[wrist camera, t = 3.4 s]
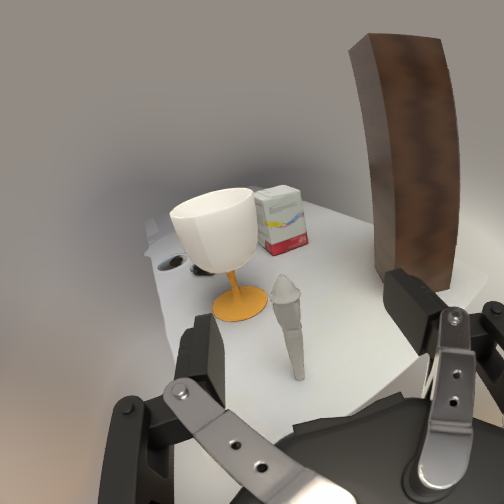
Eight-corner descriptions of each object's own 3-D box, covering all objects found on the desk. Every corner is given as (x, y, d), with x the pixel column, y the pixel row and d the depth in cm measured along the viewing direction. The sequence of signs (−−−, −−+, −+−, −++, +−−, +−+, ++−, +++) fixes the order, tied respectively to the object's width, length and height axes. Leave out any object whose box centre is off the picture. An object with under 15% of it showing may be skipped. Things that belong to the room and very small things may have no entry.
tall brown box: (426, 257, 43) (411, 51, 29) (451, 288, 35) (443, 39, 20) (374, 266, 45) (348, 50, 30) (392, 301, 36) (368, 33, 22)
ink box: (309, 243, 59) (301, 188, 53) (272, 256, 57) (260, 200, 52) (291, 231, 66) (283, 182, 61) (258, 242, 64) (246, 192, 59)
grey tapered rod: (312, 385, 28) (297, 279, 22) (287, 388, 28) (263, 284, 22) (311, 368, 30) (296, 263, 24) (288, 371, 30) (265, 268, 25)
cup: (280, 280, 48) (260, 183, 41) (269, 327, 38) (241, 209, 31) (217, 284, 52) (189, 195, 44) (194, 327, 42) (153, 224, 34)
